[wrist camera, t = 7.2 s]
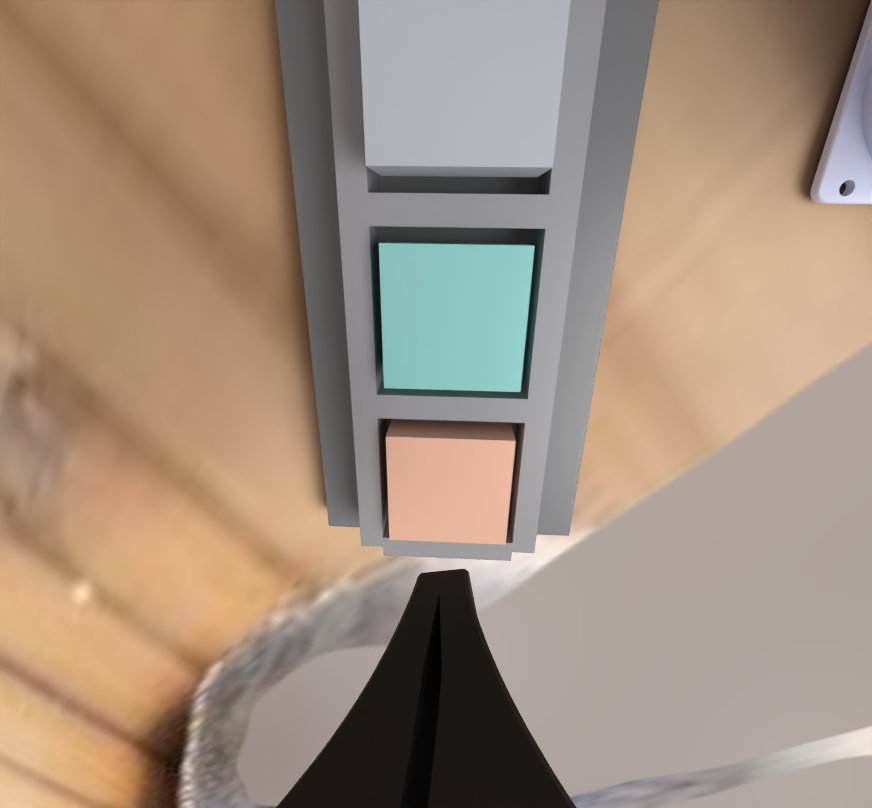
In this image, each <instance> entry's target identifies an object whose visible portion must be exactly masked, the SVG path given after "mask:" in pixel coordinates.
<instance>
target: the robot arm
mask: <svg viewBox="0 0 872 808" xmlns="http://www.w3.org/2000/svg"><path fill="white" fill-rule="evenodd" d="M844 182H845V184H846V189H845V191H844V193H843V194H841V195H840V193H839V188H840V186H841V185H842V183H844ZM810 195H811V198H812V200H813V201H814V202H815V203H819V204H872V0H871V2H870V5H869V8H868V11H867V14H866V18H865V21H864V24H863V27H862V30H861V33H860V36H859V40H858V43H857V46H856V49H855V52H854V55H853V58H852V62H851V65H850V68H849V71H848V74H847V77H846V80H845V84H844V87H843V90H842V93H841V96H840V99H839V102H838V106H837V109H836V112H835V115H834V118H833V121H832V124H831V128H830V131H829V134H828V137H827V140H826V143H825V146H824V150H823V153H822V156H821V159H820V162H819V165H818V168H817V172H816V175H815V178H814V181H813V184H812V187H811V193H810ZM276 808H576V806H575V805H574V803H573V802H572V800H571V799H570V797H569V796H568V794H567V793H566V791H565V790H564V788H563V786H562V785H561V783H560V782H559V780H558V779H557V777H556V775H555V774H554V772H553V771H552V769H551V767H550V766H549V764H548V762H547V760H546V759H545V757H544V755H543V754H542V752H541V750H540V749H539V747H538V745H537V743H536V742H535V740H534V738H533V737H532V735H531V733H530V731H529V730H528V728H527V726H526V724H525V722H524V721H523V719H522V717H521V715H520V713H519V711H518V709H517V707H516V706H515V704H514V702H513V700H512V698H511V696H510V694H509V692H508V690H507V688H506V686H505V684H504V681H503V679H502V677H501V675H500V673H499V671H498V668H497V666H496V664H495V662H494V659H493V657H492V655H491V652H490V650H489V647H488V645H487V642H486V640H485V637H484V634H483V631H482V629H481V626H480V623H479V620H478V617H477V613H476V608H475V603H474V598H473V592H472V587H471V582H470V577H469V572H468V571H467V570H465V569H457V570H447V571H438V572H428V573H421V574H420V575H419V576H418V578H417V581H416V584H415V587H414V589H413V592H412V595H411V597H410V599H409V602H408V604H407V607H406V609H405V611H404V613H403V616H402V618H401V620H400V622H399V624H398V626H397V628H396V630H395V633H394V635H393V637H392V639H391V641H390V643H389V645H388V647H387V649H386V651H385V653H384V654H383V656H382V658H381V660H380V661H379V663H378V665H377V667H376V669H375V671H374V673H373V674H372V676H371V678H370V679H369V681H368V683H367V684H366V686H365V688H364V689H363V691H362V693H361V694H360V696H359V698H358V699H357V701H356V702H355V704H354V705H353V707H352V708H351V710H350V711H349V713H348V715H347V716H346V718H345V719H344V721H343V722H342V723H341V725H340V726H339V728H338V729H337V730H336V732H335V733H334V735H333V736H332V738H331V739H330V741H329V742H328V743H327V744H326V746H325V747H324V749H323V750H322V752H321V753H320V754H319V755H318V756H317V758H316V759H315V760H314V762H313V763H312V764H311V765H310V767H309V768H308V769H307V770H306V772H305V773H304V774H303V775H302V777H301V778H300V779H299V780H298V782H297V783H296V784H295V785H294V787H293V788H292V789H291V790H290V791H289V793H288V794H287V795H286V796H285V798H284V799H283V800H282V801H281V802H280V803H279V805H278V806H277V807H276Z"/></svg>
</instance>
